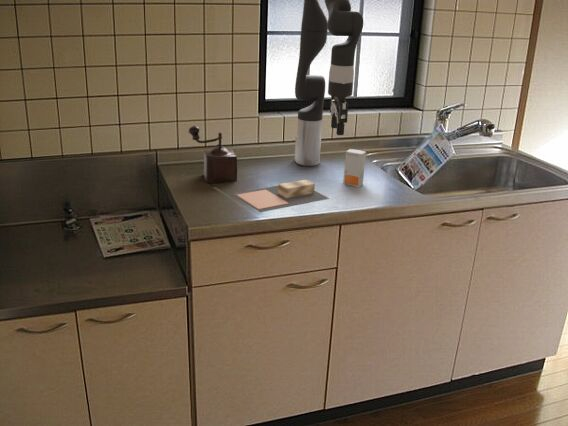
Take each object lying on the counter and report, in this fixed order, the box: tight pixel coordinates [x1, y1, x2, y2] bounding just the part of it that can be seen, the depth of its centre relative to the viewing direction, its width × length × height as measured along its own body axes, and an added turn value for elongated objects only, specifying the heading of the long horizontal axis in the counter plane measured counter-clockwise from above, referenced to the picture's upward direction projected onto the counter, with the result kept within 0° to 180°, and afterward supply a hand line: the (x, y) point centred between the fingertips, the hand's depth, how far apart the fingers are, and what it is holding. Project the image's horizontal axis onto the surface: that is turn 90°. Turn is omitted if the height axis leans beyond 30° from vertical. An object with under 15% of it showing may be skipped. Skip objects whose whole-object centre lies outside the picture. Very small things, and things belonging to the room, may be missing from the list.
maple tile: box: [277, 179, 316, 198], centre depth 198 cm, size 11×5×3 cm, turn 123°
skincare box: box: [342, 148, 367, 188], centre depth 209 cm, size 6×4×12 cm
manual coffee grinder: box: [188, 125, 238, 185], centre depth 208 cm, size 16×11×18 cm
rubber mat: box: [232, 185, 330, 213], centre depth 196 cm, size 18×26×1 cm
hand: (337, 131), depth 191 cm, fingers open, 8 cm apart
